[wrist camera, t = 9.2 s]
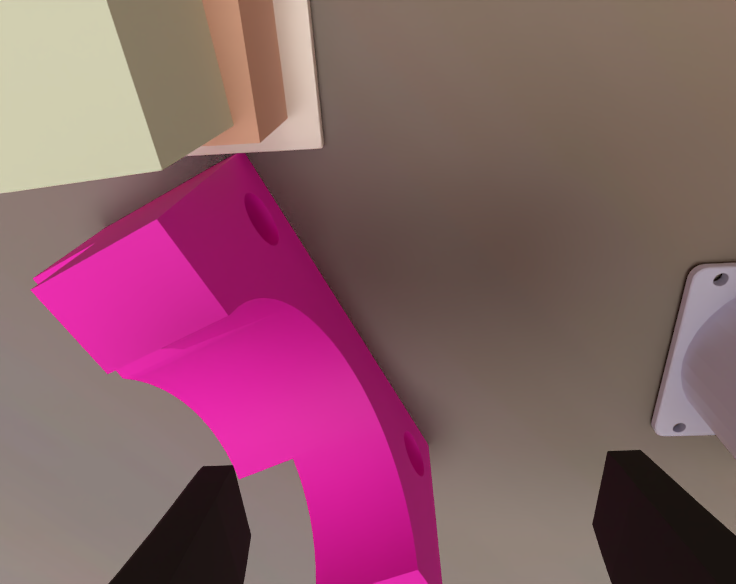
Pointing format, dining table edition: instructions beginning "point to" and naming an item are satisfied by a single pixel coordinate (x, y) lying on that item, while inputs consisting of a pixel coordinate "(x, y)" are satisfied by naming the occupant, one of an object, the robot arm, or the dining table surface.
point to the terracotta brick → (247, 68)
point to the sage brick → (104, 89)
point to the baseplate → (290, 86)
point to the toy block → (258, 363)
